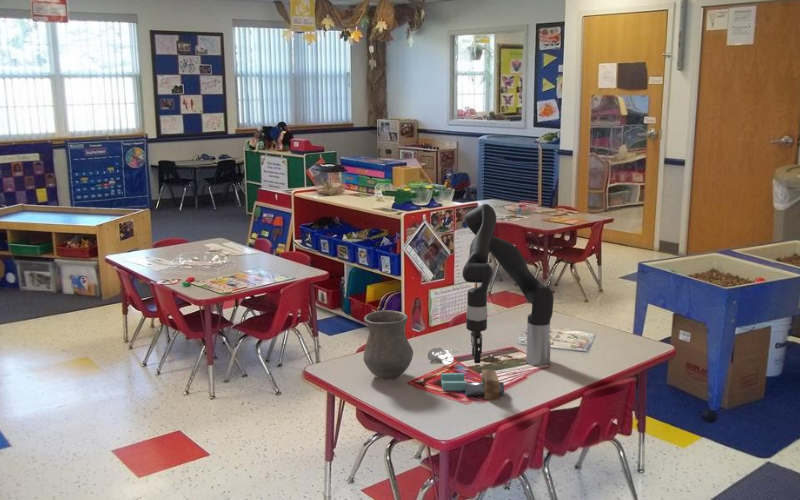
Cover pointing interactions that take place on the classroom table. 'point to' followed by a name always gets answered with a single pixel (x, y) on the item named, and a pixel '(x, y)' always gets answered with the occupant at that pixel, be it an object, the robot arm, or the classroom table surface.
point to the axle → (480, 389)
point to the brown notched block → (490, 384)
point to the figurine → (440, 355)
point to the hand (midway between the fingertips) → (476, 359)
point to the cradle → (453, 381)
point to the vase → (387, 344)
